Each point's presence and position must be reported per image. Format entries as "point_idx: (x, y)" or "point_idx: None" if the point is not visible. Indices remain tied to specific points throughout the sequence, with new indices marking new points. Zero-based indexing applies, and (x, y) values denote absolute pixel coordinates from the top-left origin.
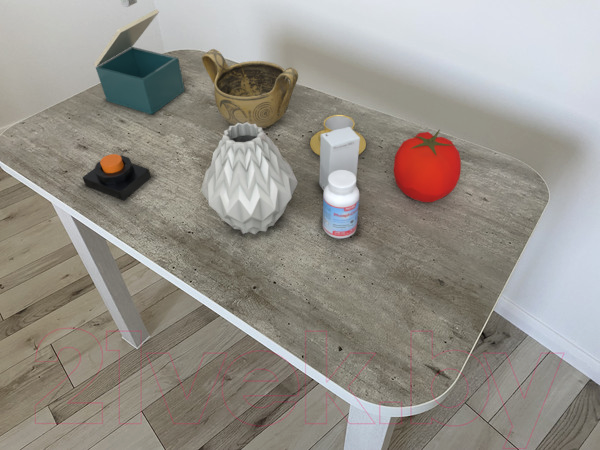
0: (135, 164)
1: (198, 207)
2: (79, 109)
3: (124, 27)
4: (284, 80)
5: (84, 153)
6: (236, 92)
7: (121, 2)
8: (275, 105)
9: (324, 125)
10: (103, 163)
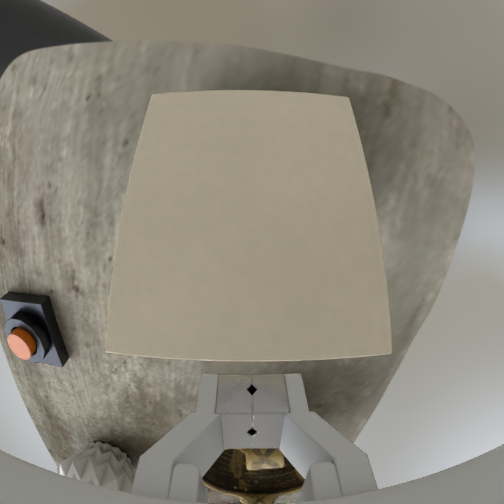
0: (54, 348)
1: (81, 416)
2: (123, 82)
3: (143, 356)
4: (273, 498)
5: (35, 230)
6: None
7: (200, 385)
8: (238, 480)
9: None
10: (10, 342)
